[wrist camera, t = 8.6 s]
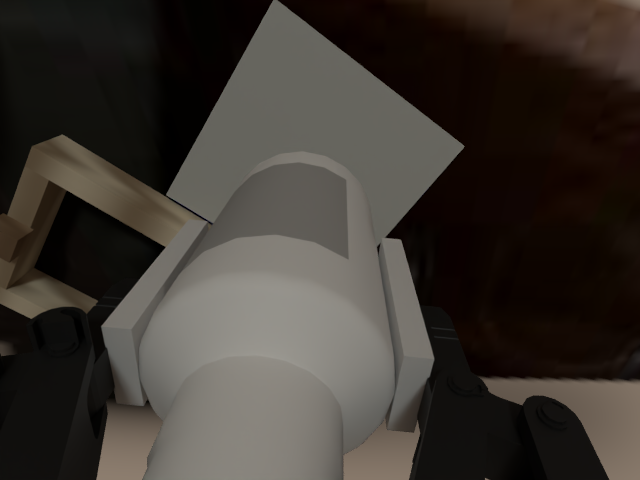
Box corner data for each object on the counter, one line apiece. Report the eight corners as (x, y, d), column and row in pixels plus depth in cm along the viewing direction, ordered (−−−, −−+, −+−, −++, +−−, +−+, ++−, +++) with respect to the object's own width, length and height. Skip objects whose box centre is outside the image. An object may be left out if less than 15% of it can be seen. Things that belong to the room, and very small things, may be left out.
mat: (169, 191, 28) (166, 194, 28) (275, -1, 23) (274, -2, 22) (333, 291, 32) (333, 296, 31) (462, 144, 26) (464, 146, 25)
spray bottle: (287, 118, 18) (-87, 707, 2) (399, 207, 20) (628, 905, 4) (209, 225, 21) (-220, 849, 5) (314, 295, 23) (248, 932, 7)
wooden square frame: (6, 269, 32) (-42, 304, 28) (59, 132, 27) (9, 150, 23) (163, 349, 35) (140, 390, 31) (237, 240, 30) (221, 272, 26)
